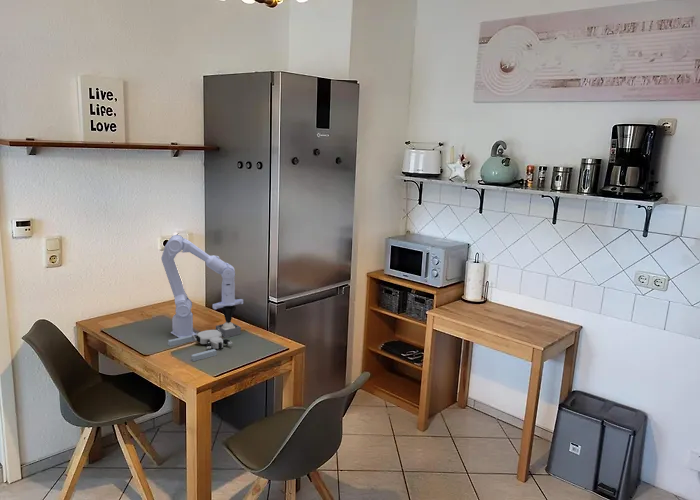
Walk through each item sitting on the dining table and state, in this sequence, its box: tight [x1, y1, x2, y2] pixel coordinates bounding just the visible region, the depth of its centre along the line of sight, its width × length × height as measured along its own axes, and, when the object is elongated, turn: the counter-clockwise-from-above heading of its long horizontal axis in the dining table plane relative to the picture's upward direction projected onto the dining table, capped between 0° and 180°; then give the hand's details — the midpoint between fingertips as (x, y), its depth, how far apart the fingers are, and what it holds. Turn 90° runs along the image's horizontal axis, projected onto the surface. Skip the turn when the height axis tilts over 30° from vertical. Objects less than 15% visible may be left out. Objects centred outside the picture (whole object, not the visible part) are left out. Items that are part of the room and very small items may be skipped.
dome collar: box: [215, 322, 242, 339], centre depth 240 cm, size 8×8×3 cm
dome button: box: [221, 321, 235, 330], centre depth 240 cm, size 6×6×5 cm
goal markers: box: [167, 335, 218, 362], centre depth 220 cm, size 22×10×2 cm, turn 44°
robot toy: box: [192, 329, 233, 350], centre depth 226 cm, size 12×4×15 cm
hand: (228, 321), depth 240 cm, fingers closed, pressing on dome button
